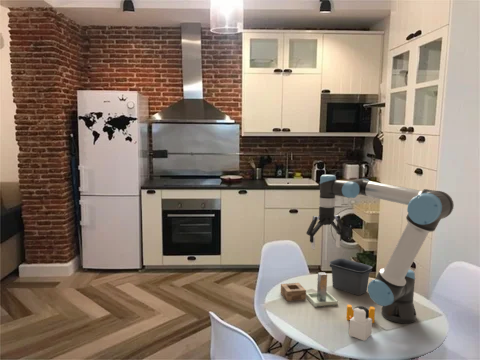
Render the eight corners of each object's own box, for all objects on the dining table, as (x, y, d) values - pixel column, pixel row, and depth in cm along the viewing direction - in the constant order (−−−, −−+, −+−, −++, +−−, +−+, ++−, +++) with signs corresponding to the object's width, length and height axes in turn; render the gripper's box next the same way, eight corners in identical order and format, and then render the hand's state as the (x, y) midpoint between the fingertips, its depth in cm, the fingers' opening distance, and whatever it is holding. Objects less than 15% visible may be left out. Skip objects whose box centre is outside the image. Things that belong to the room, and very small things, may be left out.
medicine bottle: (355, 329, 172) (356, 302, 171) (371, 334, 168) (373, 307, 166) (348, 335, 167) (349, 308, 165) (364, 341, 162) (366, 313, 161)
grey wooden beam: (323, 298, 202) (324, 272, 200) (325, 301, 198) (327, 274, 197) (316, 299, 201) (317, 272, 199) (319, 301, 198) (320, 274, 196)
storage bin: (325, 287, 218) (326, 262, 216) (340, 280, 229) (342, 256, 227) (360, 299, 203) (361, 272, 201) (375, 291, 213) (376, 265, 212)
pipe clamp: (372, 318, 183) (373, 305, 182) (374, 322, 178) (375, 309, 177) (346, 315, 185) (346, 302, 184) (346, 320, 180) (347, 306, 180)
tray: (337, 305, 195) (337, 301, 195) (315, 307, 193) (315, 303, 192) (326, 295, 207) (327, 291, 207) (305, 297, 204) (305, 293, 204)
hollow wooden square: (305, 299, 202) (305, 290, 201) (287, 301, 199) (287, 291, 199) (298, 291, 211) (298, 282, 211) (280, 293, 209) (280, 284, 208)
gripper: (345, 203, 202) (344, 244, 204) (300, 205, 195) (299, 247, 198) (353, 206, 194) (351, 248, 197) (306, 208, 188) (305, 251, 191)
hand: (325, 248), depth 197 cm, fingers open, 13 cm apart
